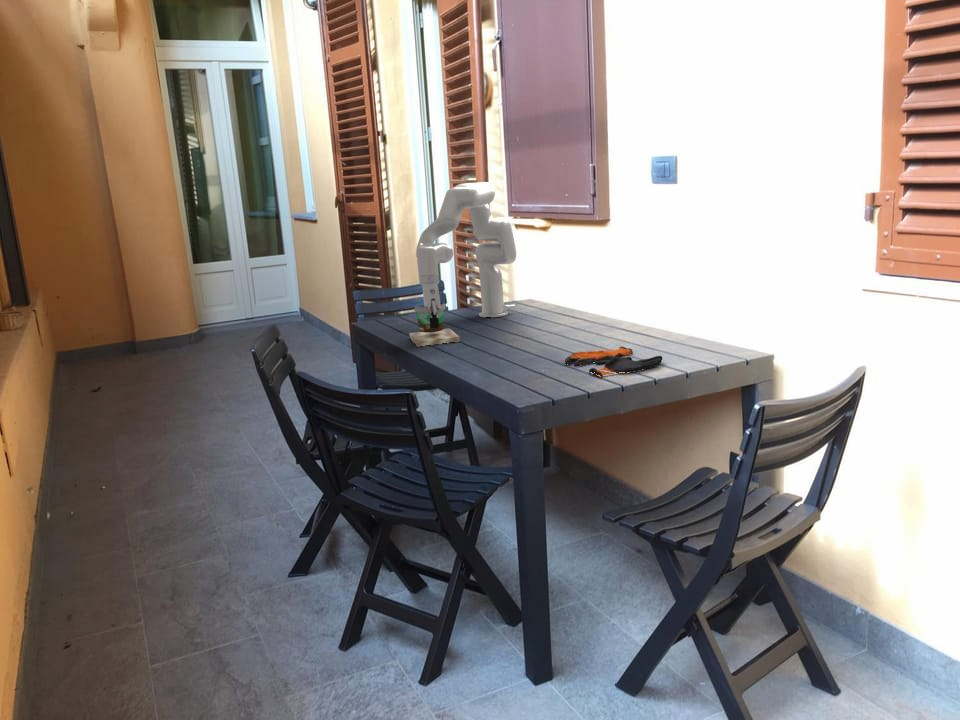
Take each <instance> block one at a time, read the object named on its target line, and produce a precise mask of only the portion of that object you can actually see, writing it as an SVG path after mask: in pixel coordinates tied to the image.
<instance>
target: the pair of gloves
mask: <svg viewBox="0 0 960 720" xmlns="http://www.w3.org/2000/svg"><path fill="white" fill-rule="evenodd" d="M629 354H632V355H634V353H633V350H632V348H627V347H625V346H620V347H618V349H614V350H604V349H603V350H590V351H577V352H574V353H572V354H570V355H569V356H567V357H566V358H565V359H564V365H565V364H566V365H567V364H568V365H569V366H571V365H570V364H574V365H573V367H574V366H580V365H585V366H587V365H586V364H589V365H591V364H590V363H593V362H595V364H598V365H601V364H600V363H605V364H604V367H603V368H601V369H596V368H595V367H592V368H590V369H589V370H588V374H590V372H592V373H594V372H595V374H597V375H600V376H603V375H606V374H614V373H609V372H604V371H600V370H607V371H610V372H616V373H619V372H625V373H627V372H632V373H634V372H633V371H638V370H641V371H643V370H642V369H645V370H647V369H651V368H650V367H653V368H655V367H658V366H659V365H660V364H661V363H662V361H663V356H661V355H655V356H653V357H649V358H646V359H645V358H644V359H638V360H633V358H632V357H631V356H630V355H629ZM624 355H626V356H624ZM621 356H622V357H621ZM659 363H660V364H659ZM566 365H565V366H566ZM654 366H655V367H654ZM580 367H581V366H580ZM646 368H647V369H646ZM638 372H639V371H638ZM595 374H594V375H595Z"/></svg>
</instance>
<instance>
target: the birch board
mask: <svg viewBox="0 0 960 720" xmlns="http://www.w3.org/2000/svg"><path fill="white" fill-rule="evenodd" d="M410 338H411V339H410ZM409 339H410V340H411V341H412V343H413V344H414V343H415V344H416V345H415V344H414V345H415V346H416V347H417V348H421V347H420V346H423V347H426V346H425V345H431V346H435V345H434V344H439V345H443V344H442V343H447V344H450V343H449V342H456V343H460V342H459V341H461V339H460V336H459V335H458V334H457V333H455V331H453V330H452V329H451V328H450V327H449V328H444V329H443V330H442V331H438V332H420V331H418V332H410V333H409Z"/></svg>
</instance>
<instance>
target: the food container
mask: <svg viewBox="0 0 960 720" xmlns="http://www.w3.org/2000/svg"><path fill="white" fill-rule="evenodd" d="M440 306H441V309H439V308H437V314H438V321H439V328H434V329H431V328H430V311H431V313H432V312H433V308H432V307H431V308H430V311H429V310H428V308H427V307H425V306H419V305H418V306H417V305H415V306H414V309H413V310H414V312H415V314H416V318H417V319H416V320H417V325H418V330H419V331H418V332H438V331H442V330H443V329H445V327H444V326H445V323H444V321H445V310H446V309H447V308H446V304H445V302H443V303H442V304H440ZM436 307H437V306H436Z"/></svg>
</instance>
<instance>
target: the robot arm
mask: <svg viewBox="0 0 960 720" xmlns="http://www.w3.org/2000/svg"><path fill="white" fill-rule="evenodd" d="M495 196H496V189H495V187H494V186H493V184H492V183H491V182H487V181H480V182H465V183H459V184H456V185H455V186H454V187H451V188H449V189H447V191H446V192H445V196H444V198H443V202H442V203H441V207H440V210H439V213H438V215H437V218H436V219H435V220H434V221H432V222H431V223H430V224H429V225H428V226H427V227H426V228H425V229H424V231H423V232H422V233H421V234H420V237H419V238H418V243H417V245H416V249H415V257H416V262H417V264H416V265H417V272H418V273H417V274H418V284H419V285H420V286H422V288H421V289H422V297H423V299H422V300H423V304H424V306H423V307H427V308H428V310H429V311H430V308H431V307H432V308H433V312H432V313H431V311H430V328H431V329H434V328H439V321H438V314H437V308H439V309H441V306H440V305H441V299H440V298H441V297H440V292H439V287H438V286H439V285H438V284H439V283H440V277H439V276H440V274H439V264H446V263H449V262H450V261H451V260H452V258H453V256H454V249H453V248H452V246H451V245H450V244H449V243H445V242H438V243H437V242H436V243H435V241H436V240H437V239H439V238H441V237H442V236H444V235H446V234H448V233H450V232H452V231H454V230H456V229H457V228H458V227H459V224H460V221H461V217H462V215H463V211H464V210H466V209H467V210H468V212H469V216H470V221H471V223H472V224H471V225H472V228H473V233H474V236H475V238H476V239H477V240H478V241H482V242H481V243H479V244H478V245H477V247H476V248H475V256H476V257H475V259H476V261H477V267H478V270H479V271H478V273H479V285H480V297H481V298H480V299H481V310H482V311H481V312H479V314H478V316H479V317H480V318H486V317H491V318H498V317H499V318H500V317H504V316H508V314H509V310H514V309H516V306H515V304H506V303H504V302H505V301H504V290H503V289H504V287H503V275H502V271H501V269H500V268H499V266H498V265H511V264H513V263H514V262H515V261H516V258H517V248H516V244H515V238H514V232H513V229H512V224H511V222H510V221H509V219H507V218H506V217H501V216H499V217H495V216H493V215H492V213H491V209H490V206H489V204H491V203H492V202H493V201H494V199H495ZM483 241H484V242H483ZM436 306H437V307H436Z"/></svg>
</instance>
